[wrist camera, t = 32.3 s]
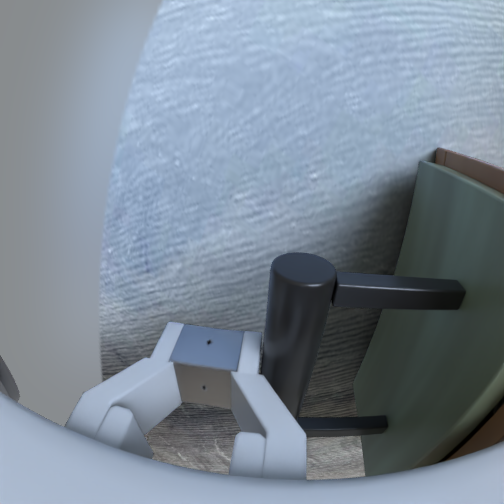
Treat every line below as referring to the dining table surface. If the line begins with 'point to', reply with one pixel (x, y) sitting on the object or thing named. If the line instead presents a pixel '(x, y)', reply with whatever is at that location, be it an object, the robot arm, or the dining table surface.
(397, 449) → the drawer
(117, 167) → the dining table surface
